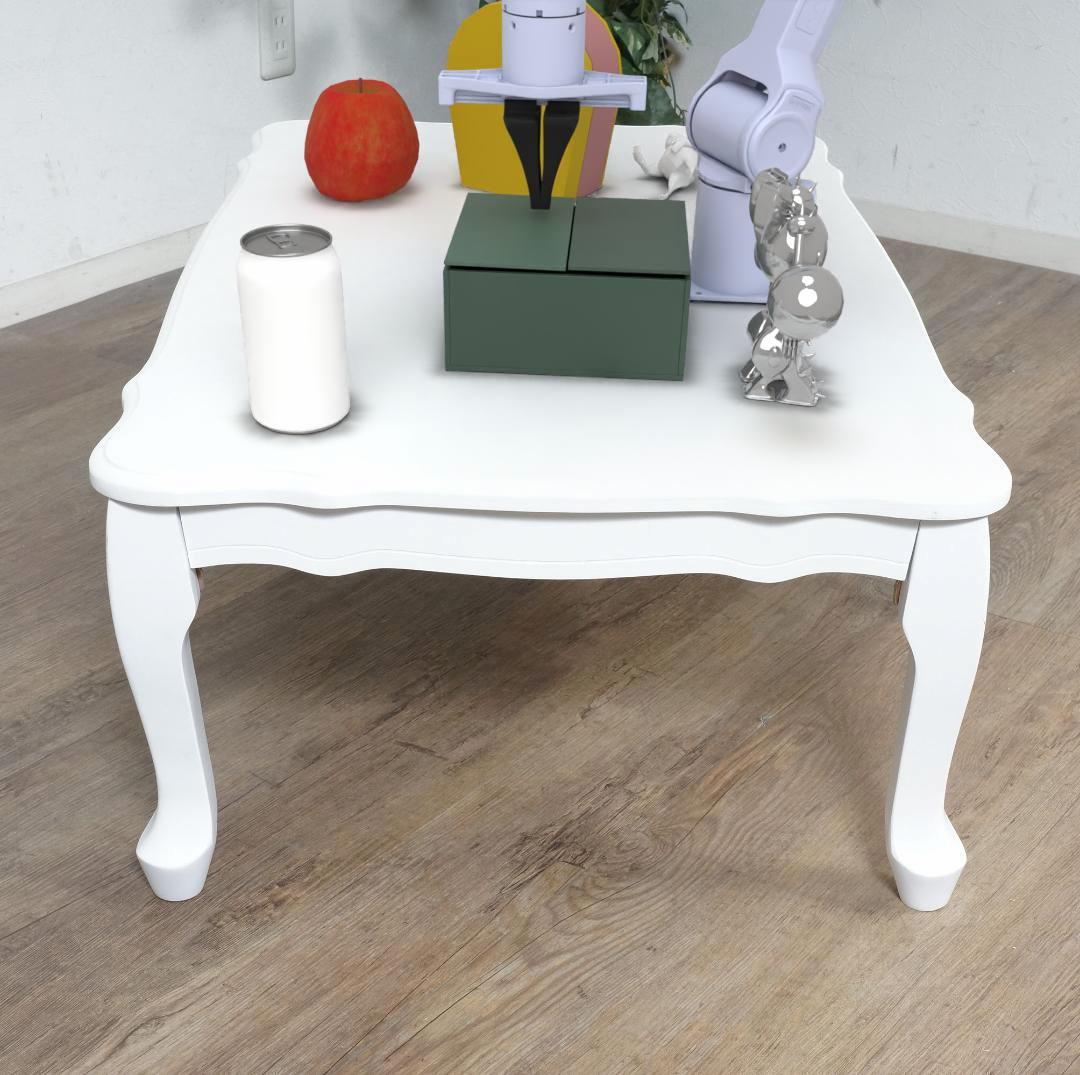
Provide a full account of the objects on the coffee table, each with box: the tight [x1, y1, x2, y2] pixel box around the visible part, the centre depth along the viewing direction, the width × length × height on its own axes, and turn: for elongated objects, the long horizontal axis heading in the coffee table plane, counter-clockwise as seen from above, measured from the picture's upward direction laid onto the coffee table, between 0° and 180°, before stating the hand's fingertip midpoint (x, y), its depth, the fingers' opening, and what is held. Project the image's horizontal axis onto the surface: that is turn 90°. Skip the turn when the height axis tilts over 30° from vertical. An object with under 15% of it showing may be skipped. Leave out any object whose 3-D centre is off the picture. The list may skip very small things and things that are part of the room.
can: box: [235, 223, 351, 435], centre depth 84 cm, size 6×6×12 cm
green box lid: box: [443, 191, 576, 271], centre depth 95 cm, size 15×8×1 cm, turn 176°
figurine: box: [632, 131, 699, 200], centre depth 129 cm, size 6×6×12 cm
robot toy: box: [737, 167, 845, 407], centre depth 87 cm, size 15×6×15 cm, turn 177°
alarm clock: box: [445, 0, 623, 202], centre depth 124 cm, size 15×8×18 cm, turn 58°
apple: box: [303, 77, 421, 203], centre depth 123 cm, size 11×11×11 cm
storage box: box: [442, 196, 691, 382], centre depth 97 cm, size 15×17×8 cm
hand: (540, 205), depth 97 cm, fingers closed
